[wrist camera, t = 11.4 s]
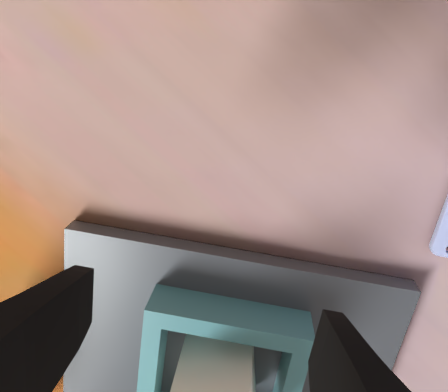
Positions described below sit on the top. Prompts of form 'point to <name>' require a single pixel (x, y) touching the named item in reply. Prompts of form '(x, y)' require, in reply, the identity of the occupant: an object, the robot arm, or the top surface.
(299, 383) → the organizer
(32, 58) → the top surface
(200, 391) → the cream block
